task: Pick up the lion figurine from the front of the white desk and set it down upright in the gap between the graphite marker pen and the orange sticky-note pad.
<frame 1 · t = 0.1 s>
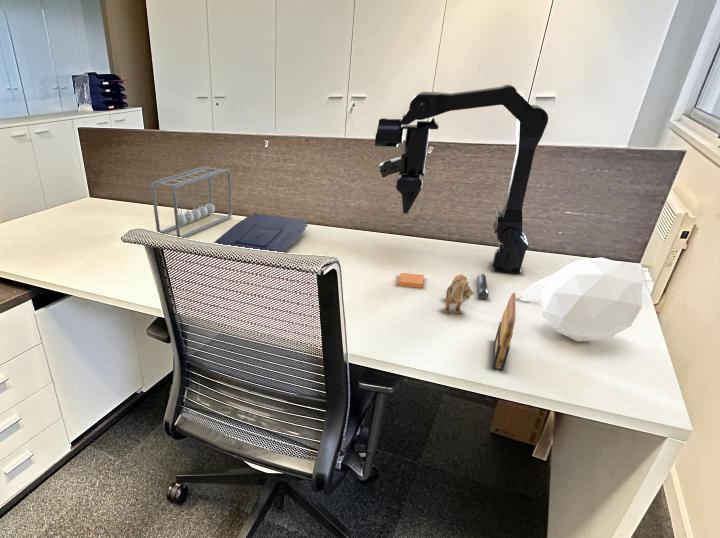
hand: (406, 208, 134), 15 cm above the table, tool pointing down, fingers open, 9 cm apart
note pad: (410, 282, 128), on the table
lion figurine: (455, 308, 116), on the table
newton's cradle: (196, 226, 175), on the table
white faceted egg: (567, 323, 108), on the table
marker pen: (480, 289, 123), on the table, tilted 7°
ammunition clip: (497, 356, 98), on the table
navy blue flat slab: (261, 242, 159), on the table
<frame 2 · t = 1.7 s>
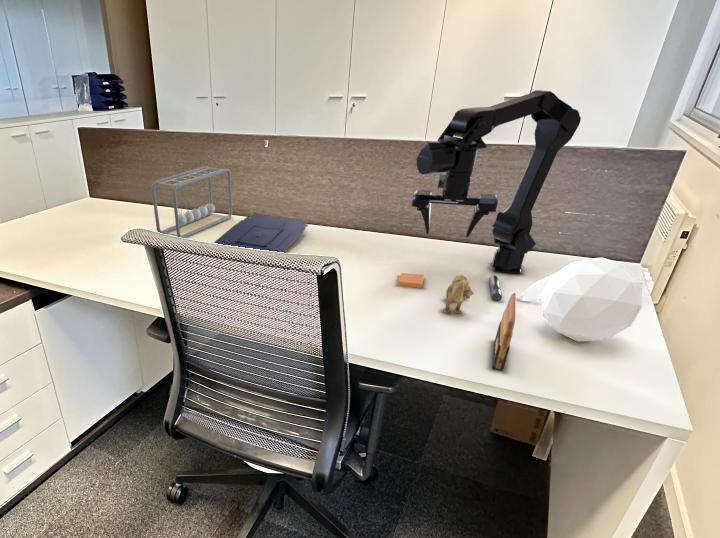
hand: (446, 235, 122), 12 cm above the table, tool pointing down, fingers open, 9 cm apart
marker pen: (495, 283, 121), point 2 cm above the table, tilted 170°
everything else where it was.
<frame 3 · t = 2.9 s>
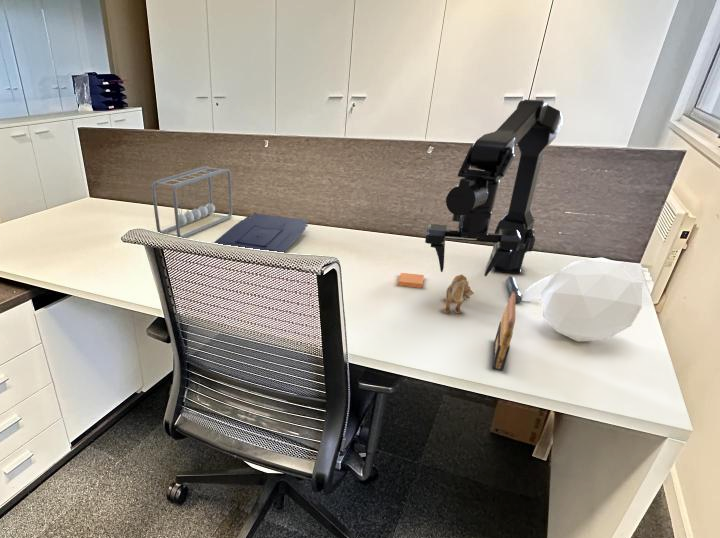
hand: (463, 273, 111), 9 cm above the table, tool pointing down, fingers open, 9 cm apart
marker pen: (509, 291, 121), on the table, tilted 38°
everything else where it was.
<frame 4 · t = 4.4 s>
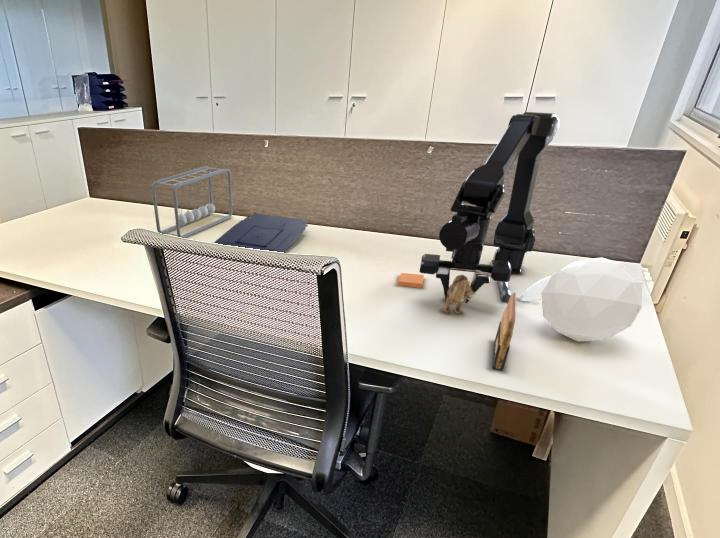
hand: (456, 301, 115), 2 cm above the table, tool pointing down, fingers closed on lion figurine, 4 cm apart
lion figurine: (455, 308, 116), on the table, touching gripper
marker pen: (508, 289, 121), point 1 cm above the table, tilted 76°
everything else where it was.
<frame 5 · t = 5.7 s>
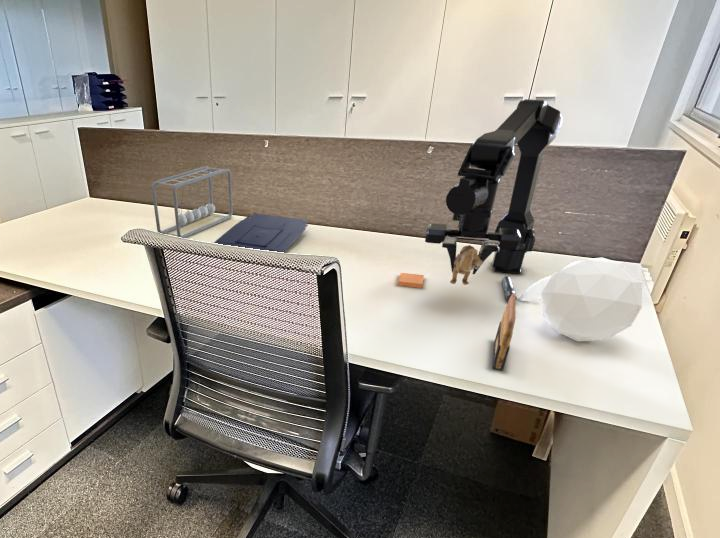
hand: (463, 272, 111), 9 cm above the table, tool pointing down, fingers closed on lion figurine, 4 cm apart
lion figurine: (462, 279, 112), point 7 cm above the table, touching gripper
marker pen: (509, 292, 121), on the table, tilted 21°
everything else where it was.
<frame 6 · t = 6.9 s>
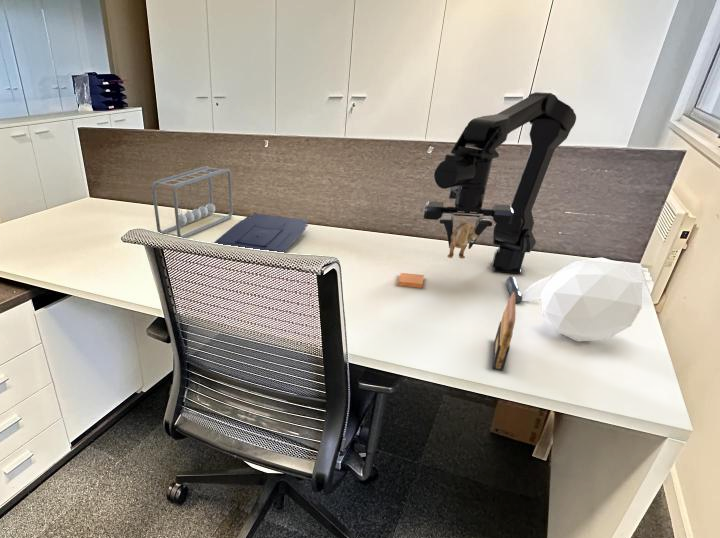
hand: (459, 247, 118), 11 cm above the table, tool pointing down, fingers closed on lion figurine, 4 cm apart
lion figurine: (458, 254, 119), point 9 cm above the table, touching gripper
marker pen: (509, 291, 121), on the table, tilted 41°
everything else where it was.
when the fingers open (2 cm above the table, at t = 9.5 s): lion figurine stays where it is, on the table.
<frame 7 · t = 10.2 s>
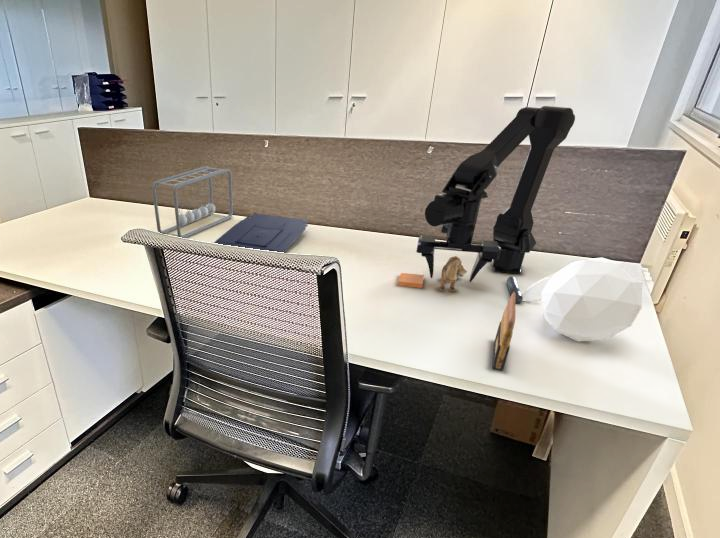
hand: (450, 279, 124), 2 cm above the table, tool pointing down, fingers open, 9 cm apart
lion figurine: (449, 287, 125), on the table
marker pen: (510, 291, 121), on the table, tilted 47°
everything else where it was.
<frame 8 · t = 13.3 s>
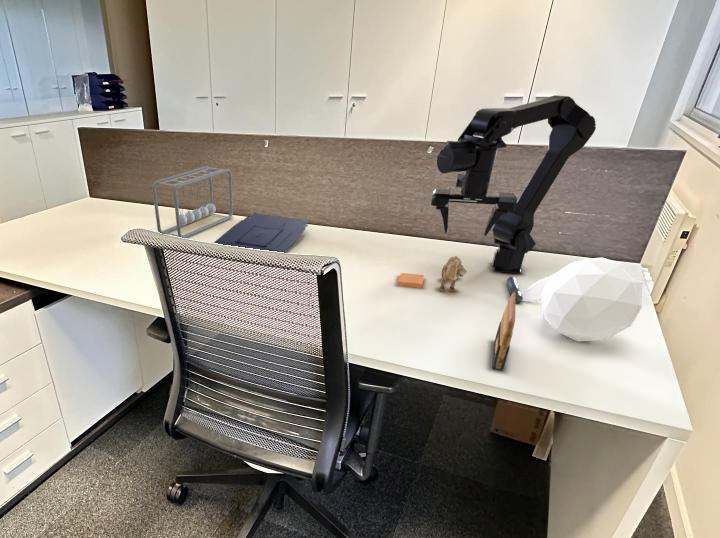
hand: (465, 233, 123), 12 cm above the table, tool pointing down, fingers open, 9 cm apart
nothing on the table moved.
at the end: lion figurine 0.2 cm from the target spot, on the table; lion figurine tilted 0°; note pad moved 0.0 cm from its start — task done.
